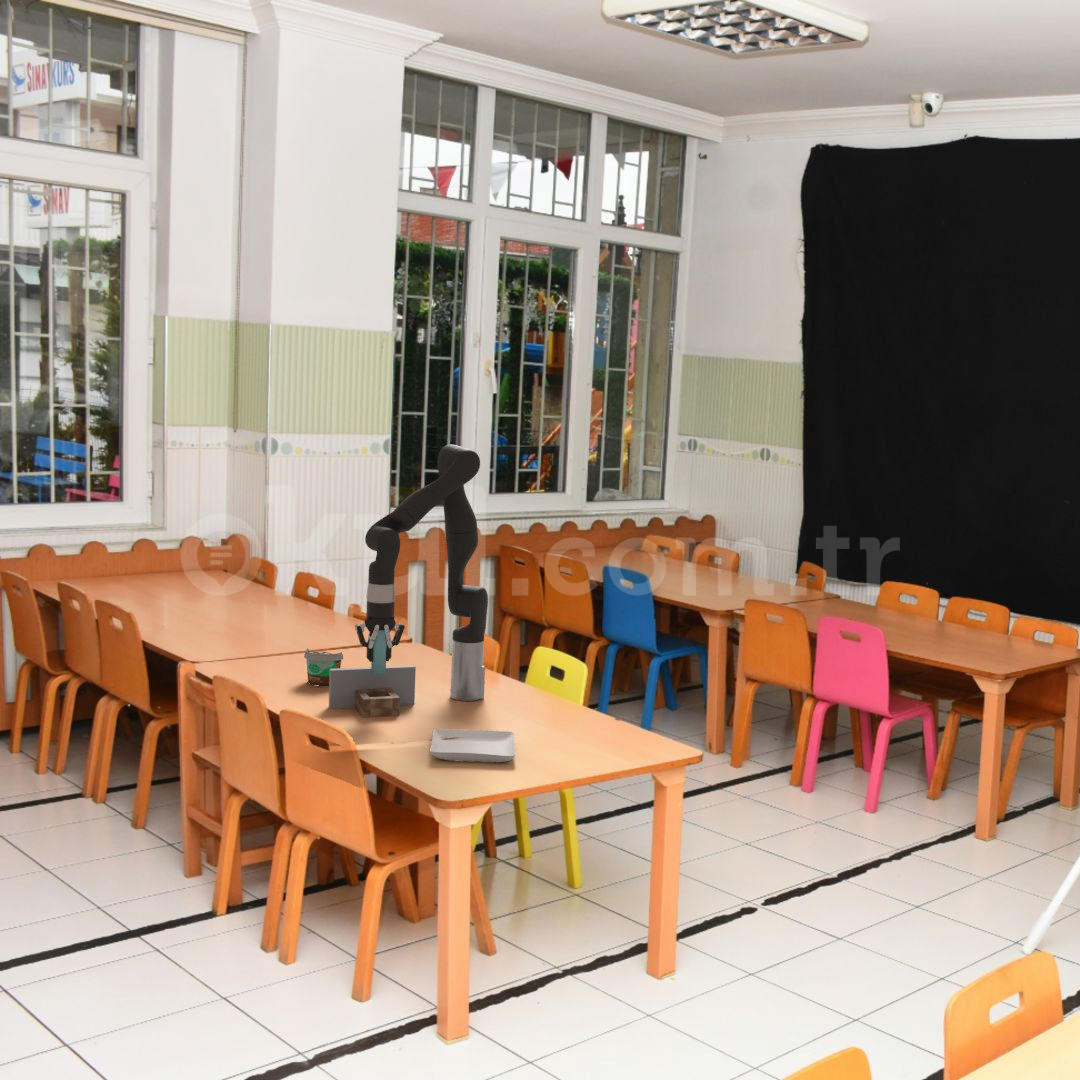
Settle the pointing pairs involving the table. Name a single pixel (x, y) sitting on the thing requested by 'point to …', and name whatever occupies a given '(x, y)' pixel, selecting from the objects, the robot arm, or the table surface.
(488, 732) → the salad plate
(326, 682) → the food container
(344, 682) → the backstop wall
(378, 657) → the teal rounded bar piece
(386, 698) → the block
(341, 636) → the table surface
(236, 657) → the table surface
